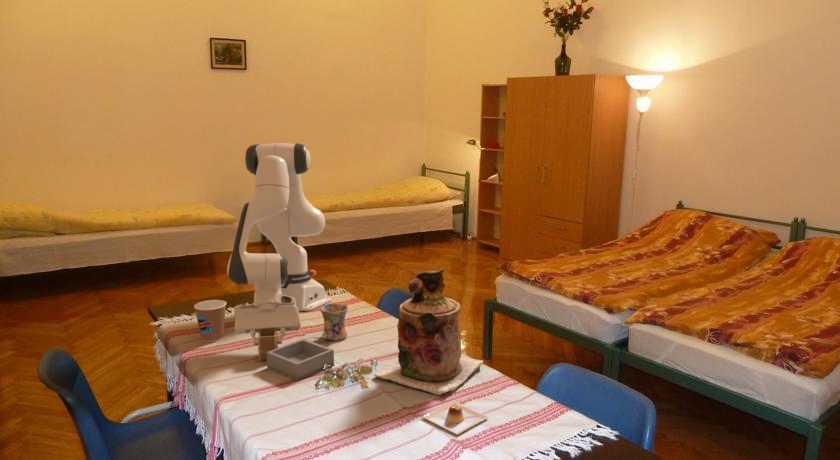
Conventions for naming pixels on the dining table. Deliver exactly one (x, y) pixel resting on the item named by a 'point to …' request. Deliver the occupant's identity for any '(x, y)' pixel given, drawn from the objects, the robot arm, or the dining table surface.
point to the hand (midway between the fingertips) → (268, 343)
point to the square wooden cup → (266, 343)
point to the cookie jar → (429, 340)
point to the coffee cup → (211, 319)
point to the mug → (334, 321)
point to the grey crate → (300, 359)
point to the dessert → (455, 415)
